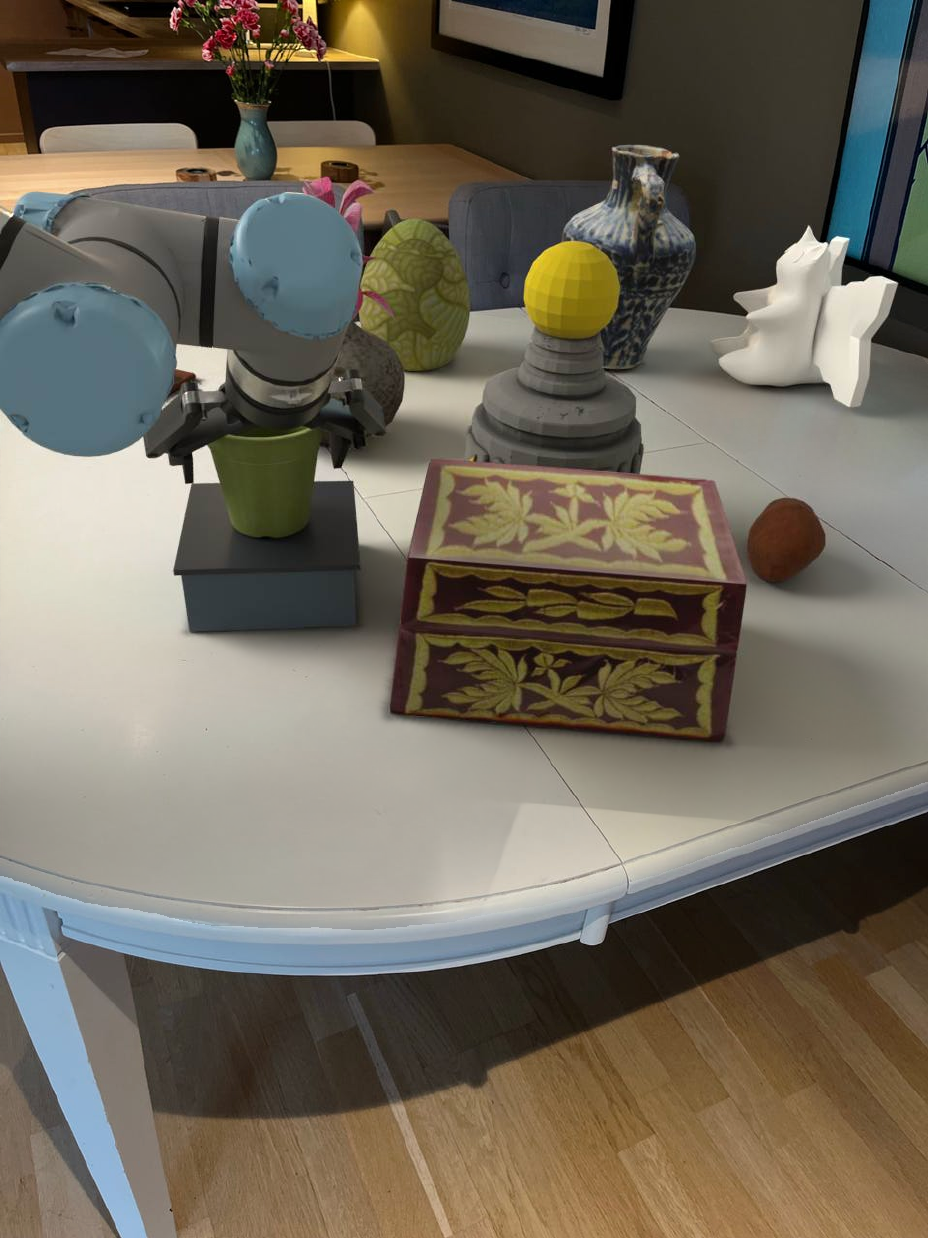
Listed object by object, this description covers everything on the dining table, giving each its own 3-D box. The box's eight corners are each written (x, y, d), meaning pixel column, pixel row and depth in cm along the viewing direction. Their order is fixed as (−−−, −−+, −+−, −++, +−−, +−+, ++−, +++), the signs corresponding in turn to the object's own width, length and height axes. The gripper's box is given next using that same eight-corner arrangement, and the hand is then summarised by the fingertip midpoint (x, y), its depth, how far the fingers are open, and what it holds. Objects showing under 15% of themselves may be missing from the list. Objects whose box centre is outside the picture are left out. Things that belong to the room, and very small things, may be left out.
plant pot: (181, 539, 86) (164, 423, 79) (244, 483, 95) (234, 374, 89) (301, 565, 83) (295, 447, 77) (354, 504, 93) (352, 394, 86)
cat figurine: (696, 347, 156) (723, 208, 143) (826, 355, 155) (865, 217, 143) (723, 408, 135) (758, 252, 123) (874, 417, 135) (923, 263, 123)
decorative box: (695, 613, 93) (728, 474, 84) (724, 744, 78) (768, 591, 69) (414, 591, 94) (417, 450, 85) (388, 715, 78) (389, 560, 70)
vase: (245, 450, 117) (221, 186, 99) (309, 399, 130) (298, 159, 113) (372, 476, 113) (370, 206, 95) (424, 421, 127) (431, 176, 109)
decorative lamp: (437, 495, 110) (448, 220, 92) (586, 477, 115) (622, 214, 98) (495, 583, 95) (520, 276, 78) (661, 557, 101) (719, 266, 84)
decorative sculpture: (412, 387, 136) (414, 240, 124) (337, 355, 144) (332, 215, 133) (489, 361, 146) (498, 223, 134) (414, 332, 154) (417, 200, 143)
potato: (813, 547, 104) (833, 482, 100) (816, 604, 95) (839, 535, 91) (742, 535, 106) (758, 470, 101) (739, 590, 97) (757, 521, 92)
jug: (536, 338, 155) (556, 133, 138) (649, 337, 158) (682, 137, 141) (570, 387, 138) (597, 162, 121) (696, 385, 142) (740, 165, 124)
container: (183, 635, 86) (173, 570, 82) (199, 543, 99) (191, 483, 95) (361, 628, 88) (360, 564, 84) (354, 539, 101) (353, 480, 97)
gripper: (104, 427, 64) (127, 516, 84) (456, 398, 71) (400, 486, 91) (88, 323, 65) (115, 435, 85) (437, 304, 72) (386, 412, 92)
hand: (262, 462), depth 88 cm, fingers open, 13 cm apart
